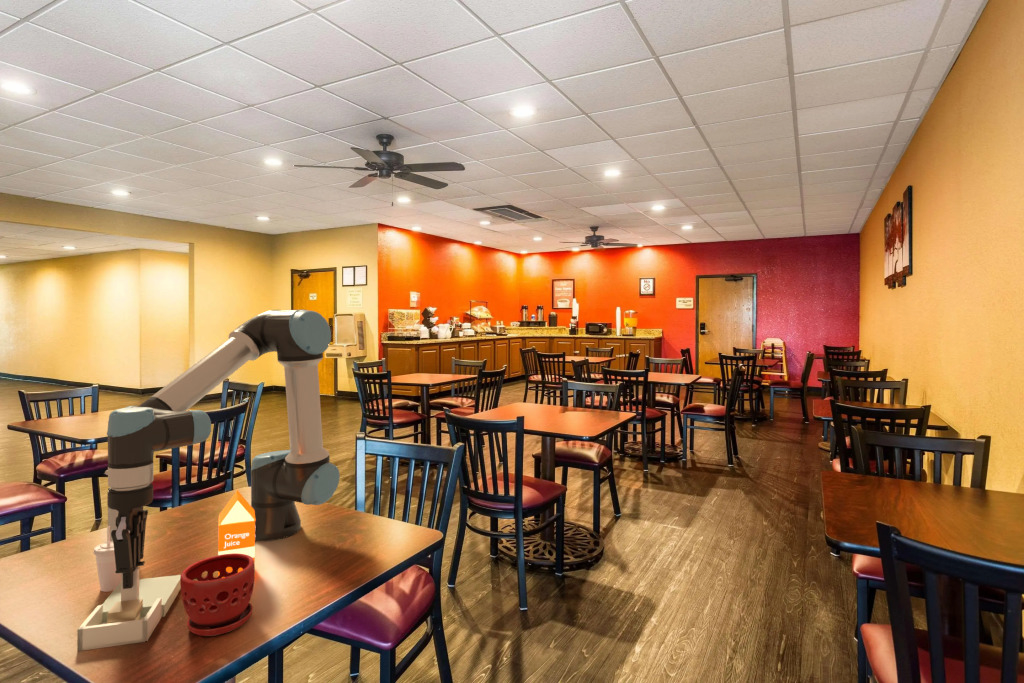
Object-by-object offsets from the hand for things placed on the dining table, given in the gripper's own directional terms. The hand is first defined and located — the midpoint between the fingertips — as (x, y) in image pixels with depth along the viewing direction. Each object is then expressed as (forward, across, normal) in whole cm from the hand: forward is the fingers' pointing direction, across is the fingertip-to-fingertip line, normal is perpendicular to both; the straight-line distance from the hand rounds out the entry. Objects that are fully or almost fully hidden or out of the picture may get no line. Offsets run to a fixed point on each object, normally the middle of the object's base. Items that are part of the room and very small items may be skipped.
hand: (130, 601), depth 109 cm
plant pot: (+4, +6, +17) cm, 19 cm away
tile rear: (+2, +3, 0) cm, 3 cm away
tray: (+4, +5, 0) cm, 6 cm away
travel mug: (+4, -31, -11) cm, 33 cm away
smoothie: (+4, -17, -9) cm, 19 cm away
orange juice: (+4, -15, +17) cm, 23 cm away
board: (+4, -7, 0) cm, 8 cm away
